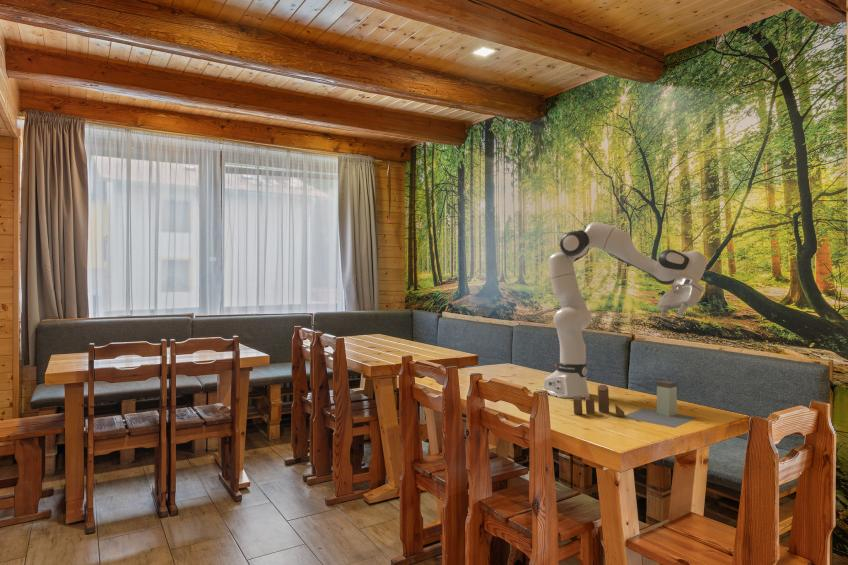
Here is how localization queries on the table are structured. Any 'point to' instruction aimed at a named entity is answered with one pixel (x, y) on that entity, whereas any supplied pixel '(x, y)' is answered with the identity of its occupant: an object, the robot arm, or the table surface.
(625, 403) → the table surface
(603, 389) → the wooden block set
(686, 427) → the table surface
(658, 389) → the sage block
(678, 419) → the slate mat
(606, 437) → the table surface
